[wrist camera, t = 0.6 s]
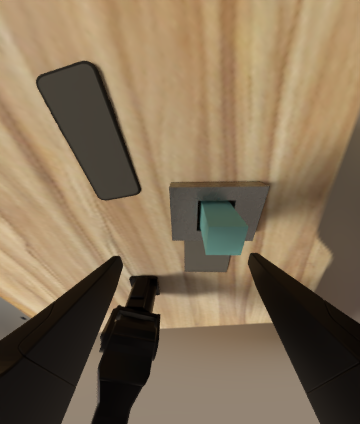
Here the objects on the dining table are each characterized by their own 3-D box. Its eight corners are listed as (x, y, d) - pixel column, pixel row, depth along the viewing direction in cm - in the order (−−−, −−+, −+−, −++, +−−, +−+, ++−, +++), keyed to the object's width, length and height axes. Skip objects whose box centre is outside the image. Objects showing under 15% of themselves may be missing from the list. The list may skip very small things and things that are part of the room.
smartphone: (99, 202, 21) (29, 76, 14) (102, 200, 21) (38, 80, 14) (142, 194, 20) (91, 55, 13) (144, 192, 21) (96, 60, 14)
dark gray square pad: (225, 270, 28) (226, 272, 27) (184, 270, 28) (184, 271, 28) (233, 238, 24) (233, 239, 23) (184, 237, 24) (184, 239, 24)
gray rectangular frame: (245, 231, 23) (252, 240, 21) (173, 231, 23) (172, 240, 21) (259, 181, 19) (269, 186, 16) (170, 182, 19) (169, 187, 17)
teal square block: (222, 219, 22) (240, 255, 15) (198, 219, 22) (205, 254, 15) (225, 197, 20) (248, 226, 13) (200, 197, 20) (208, 226, 13)
